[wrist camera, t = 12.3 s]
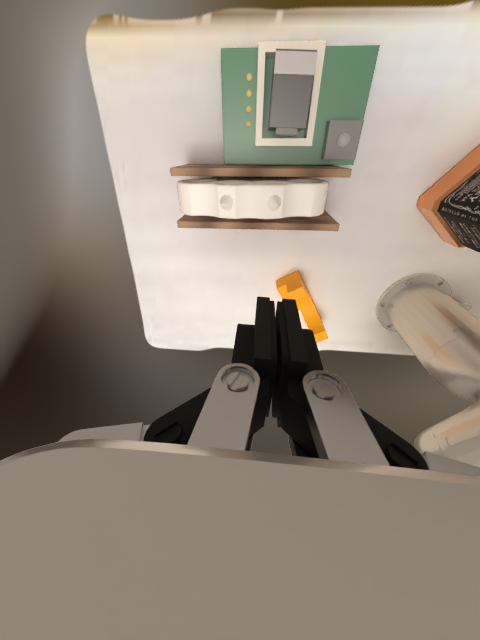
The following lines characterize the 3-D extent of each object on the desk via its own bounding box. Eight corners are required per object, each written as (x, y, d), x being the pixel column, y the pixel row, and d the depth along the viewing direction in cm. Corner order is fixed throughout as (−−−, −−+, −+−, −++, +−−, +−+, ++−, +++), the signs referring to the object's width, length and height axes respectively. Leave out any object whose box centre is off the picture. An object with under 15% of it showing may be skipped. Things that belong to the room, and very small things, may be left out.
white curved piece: (193, 175, 37) (162, 187, 25) (314, 174, 36) (341, 187, 24) (196, 199, 39) (167, 221, 27) (311, 200, 38) (334, 223, 26)
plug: (306, 68, 29) (318, 48, 24) (297, 137, 33) (305, 135, 27) (273, 67, 29) (276, 47, 24) (267, 136, 33) (268, 133, 28)
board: (375, 49, 29) (388, 37, 26) (350, 164, 35) (358, 165, 32) (222, 51, 30) (217, 40, 27) (225, 163, 36) (222, 164, 33)
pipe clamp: (276, 280, 46) (278, 297, 41) (297, 270, 45) (302, 286, 40) (301, 326, 52) (305, 346, 47) (321, 318, 50) (328, 338, 45)
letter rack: (332, 165, 35) (351, 169, 28) (323, 215, 39) (338, 230, 32) (188, 164, 37) (169, 168, 29) (193, 213, 40) (178, 227, 33)
